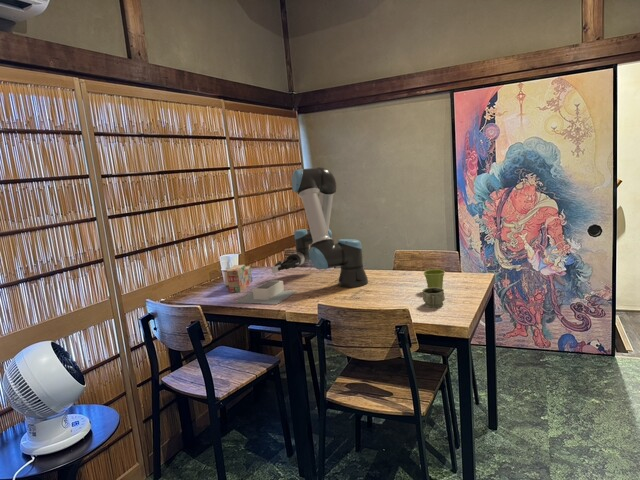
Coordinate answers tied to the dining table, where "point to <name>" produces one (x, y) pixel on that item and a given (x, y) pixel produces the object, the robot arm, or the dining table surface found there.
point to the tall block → (268, 290)
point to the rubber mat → (273, 300)
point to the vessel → (433, 297)
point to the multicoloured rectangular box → (239, 277)
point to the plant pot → (434, 278)
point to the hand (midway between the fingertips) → (273, 270)
